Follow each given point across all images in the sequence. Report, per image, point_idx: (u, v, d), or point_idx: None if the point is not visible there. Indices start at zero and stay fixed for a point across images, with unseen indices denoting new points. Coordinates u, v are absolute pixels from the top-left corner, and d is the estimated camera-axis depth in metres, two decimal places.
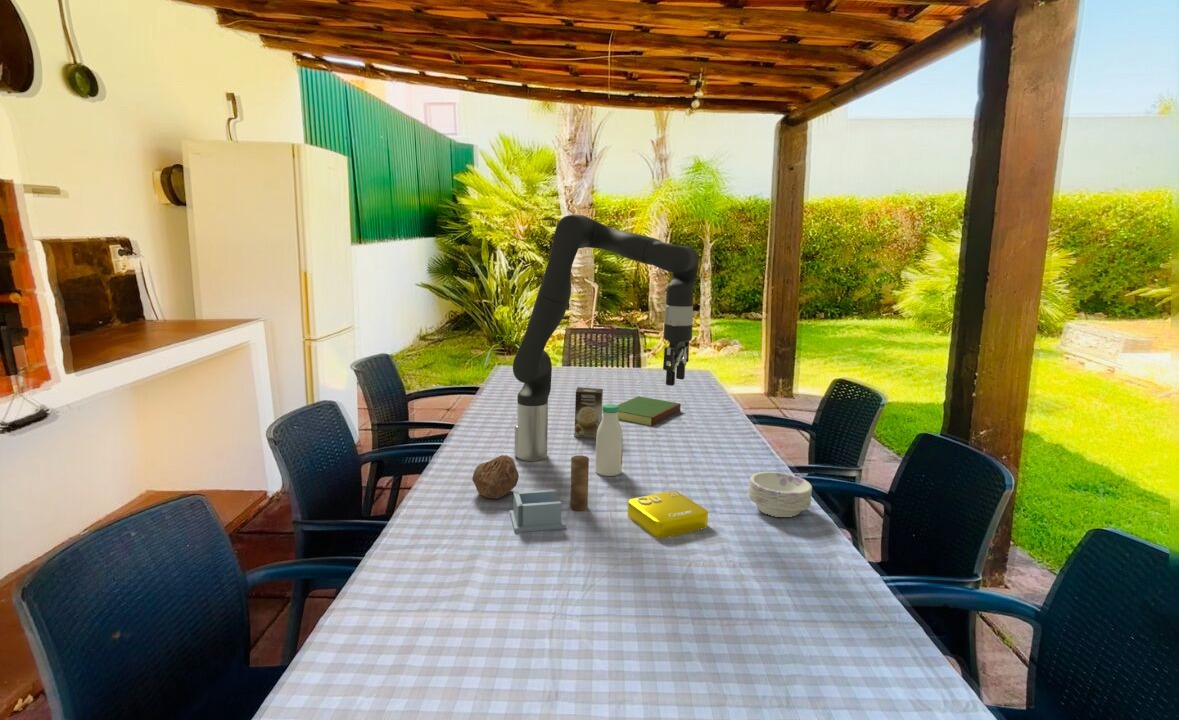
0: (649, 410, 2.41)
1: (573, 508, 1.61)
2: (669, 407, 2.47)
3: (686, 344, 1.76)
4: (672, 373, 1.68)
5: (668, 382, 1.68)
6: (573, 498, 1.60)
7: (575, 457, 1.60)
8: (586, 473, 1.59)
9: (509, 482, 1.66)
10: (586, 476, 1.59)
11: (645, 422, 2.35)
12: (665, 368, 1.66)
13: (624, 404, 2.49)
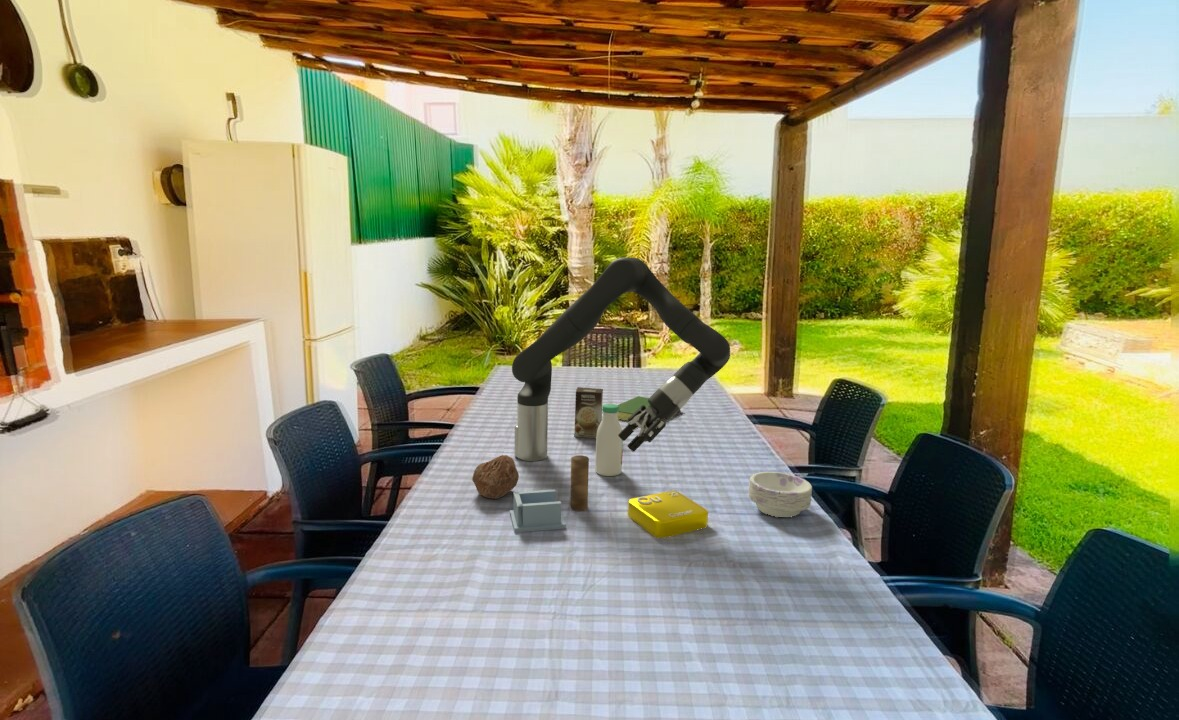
0: None
1: (573, 508, 1.61)
2: None
3: None
4: (642, 442, 1.57)
5: (633, 447, 1.57)
6: (573, 498, 1.60)
7: (575, 457, 1.60)
8: (586, 473, 1.59)
9: (509, 482, 1.66)
10: (586, 476, 1.59)
11: None
12: (646, 436, 1.55)
13: (624, 404, 2.49)
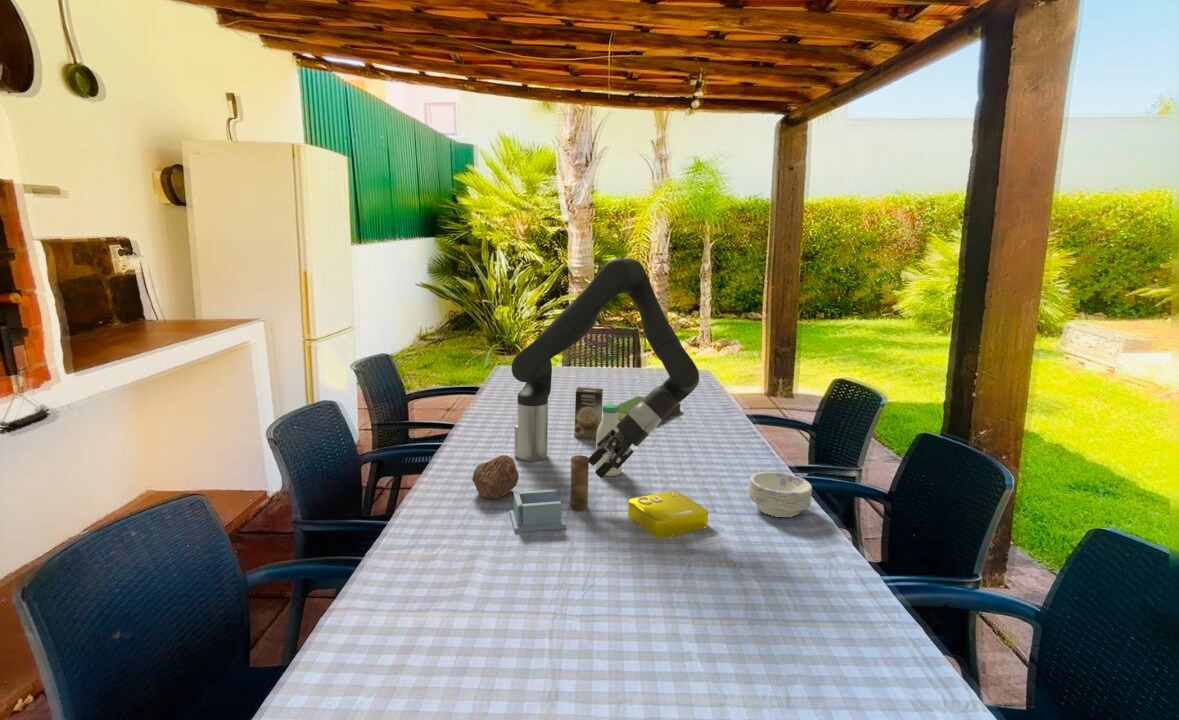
0: None
1: (573, 508, 1.61)
2: None
3: None
4: None
5: (600, 473, 1.56)
6: (573, 498, 1.60)
7: (575, 457, 1.60)
8: (586, 473, 1.59)
9: (509, 482, 1.66)
10: (586, 476, 1.59)
11: None
12: (613, 463, 1.55)
13: (624, 404, 2.49)
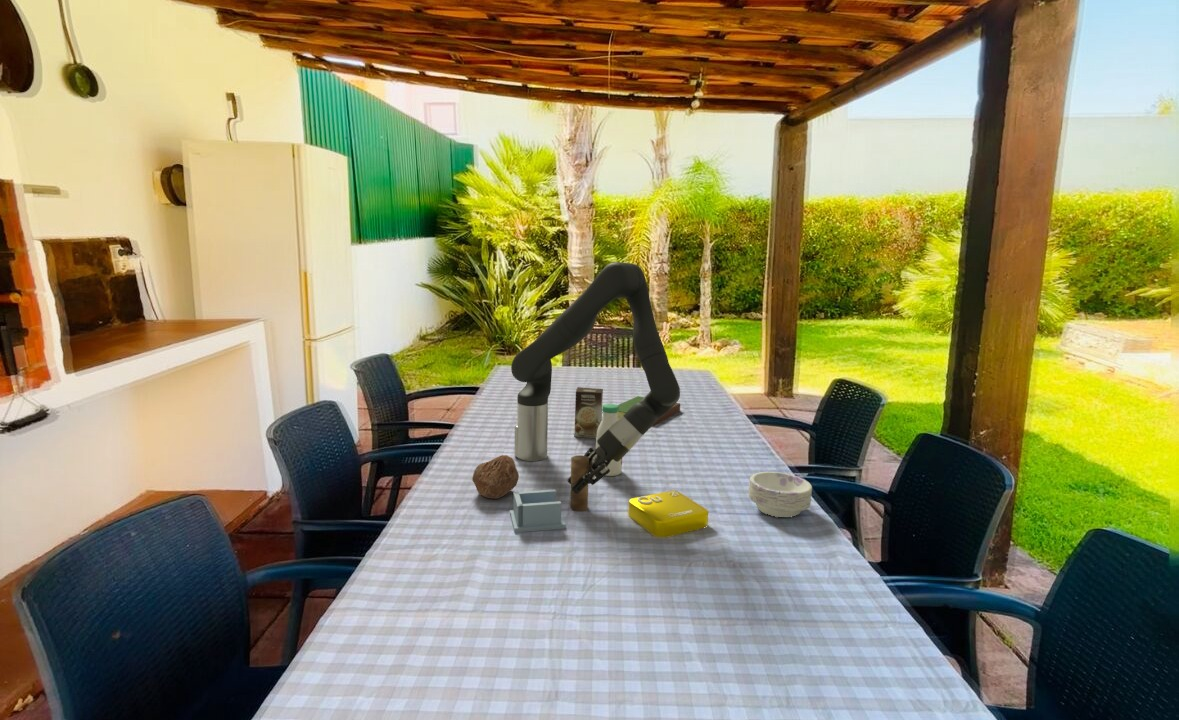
0: None
1: (573, 508, 1.61)
2: None
3: None
4: None
5: (576, 489, 1.58)
6: (573, 498, 1.60)
7: (575, 457, 1.60)
8: None
9: (509, 482, 1.66)
10: None
11: None
12: (588, 480, 1.56)
13: (624, 404, 2.49)
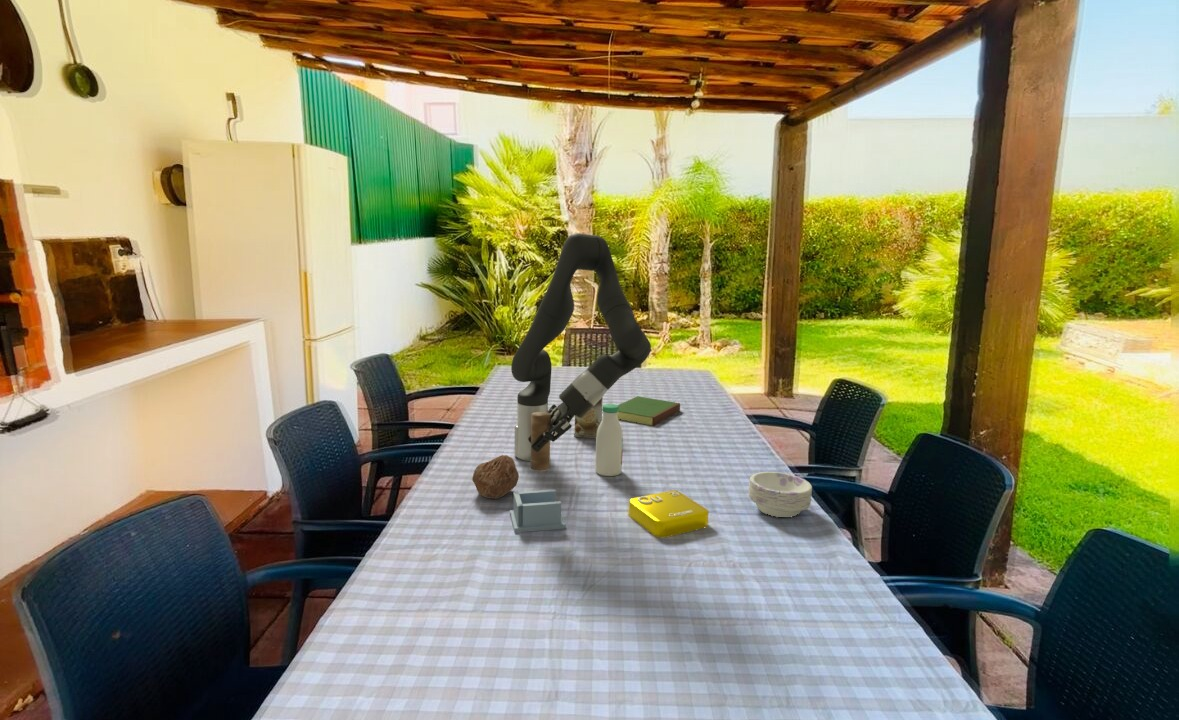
0: (650, 410, 2.41)
1: (534, 468, 1.50)
2: (669, 407, 2.47)
3: None
4: (546, 441, 1.47)
5: (536, 447, 1.47)
6: (533, 457, 1.49)
7: (536, 413, 1.50)
8: None
9: (509, 482, 1.66)
10: None
11: (646, 422, 2.35)
12: (548, 436, 1.45)
13: (624, 404, 2.49)
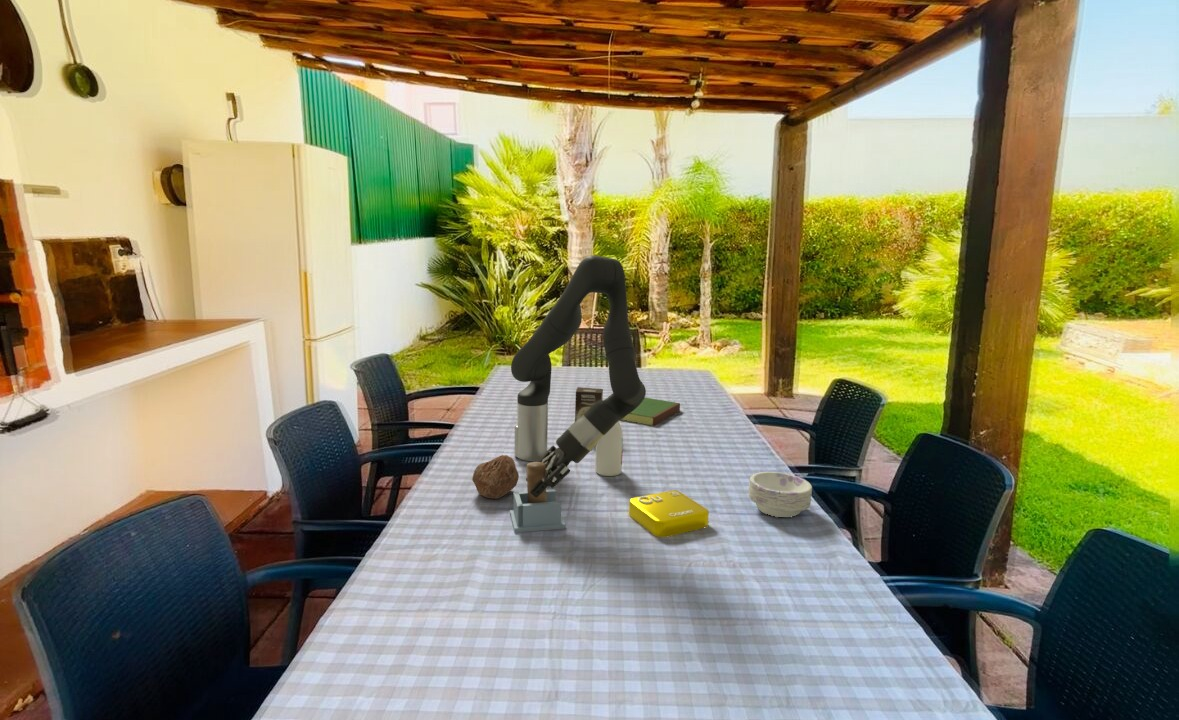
0: (650, 410, 2.41)
1: None
2: (669, 407, 2.47)
3: None
4: (545, 487, 1.48)
5: (535, 492, 1.48)
6: None
7: (531, 464, 1.52)
8: None
9: (509, 482, 1.66)
10: None
11: (647, 422, 2.35)
12: (548, 482, 1.46)
13: None
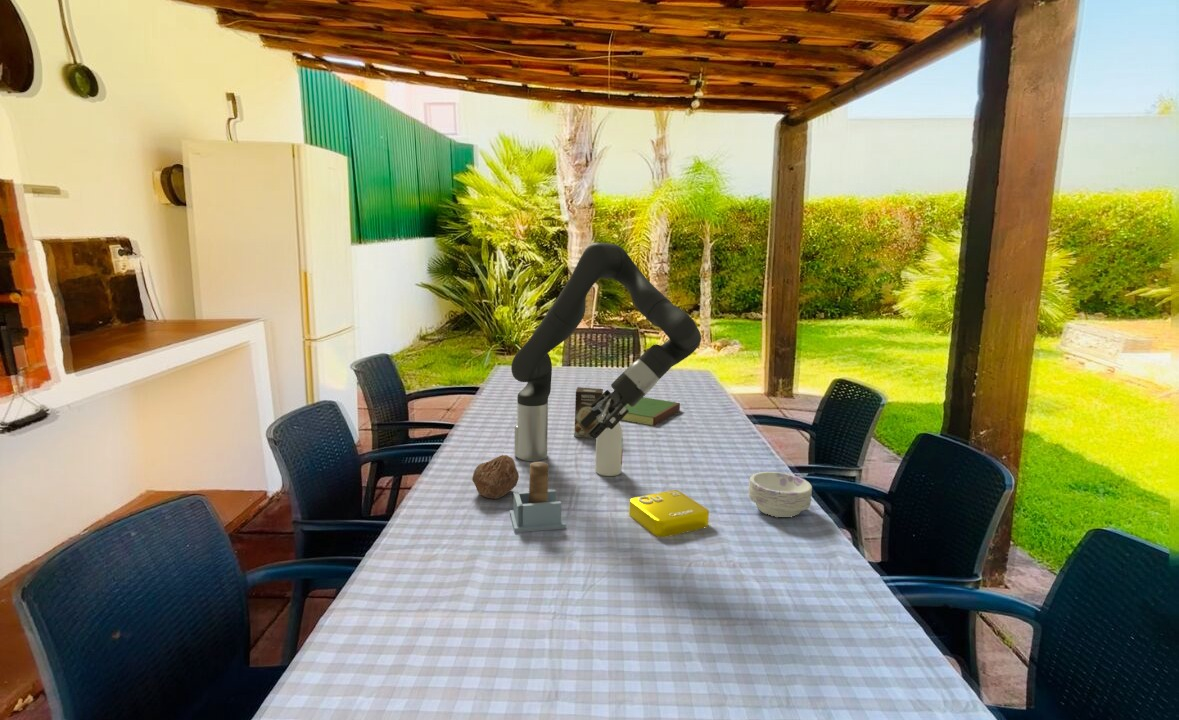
0: (650, 410, 2.41)
1: None
2: (669, 407, 2.47)
3: None
4: (604, 428, 1.48)
5: (594, 434, 1.48)
6: None
7: (534, 463, 1.52)
8: (545, 481, 1.51)
9: (509, 482, 1.66)
10: (545, 484, 1.51)
11: (647, 422, 2.35)
12: (607, 423, 1.46)
13: None
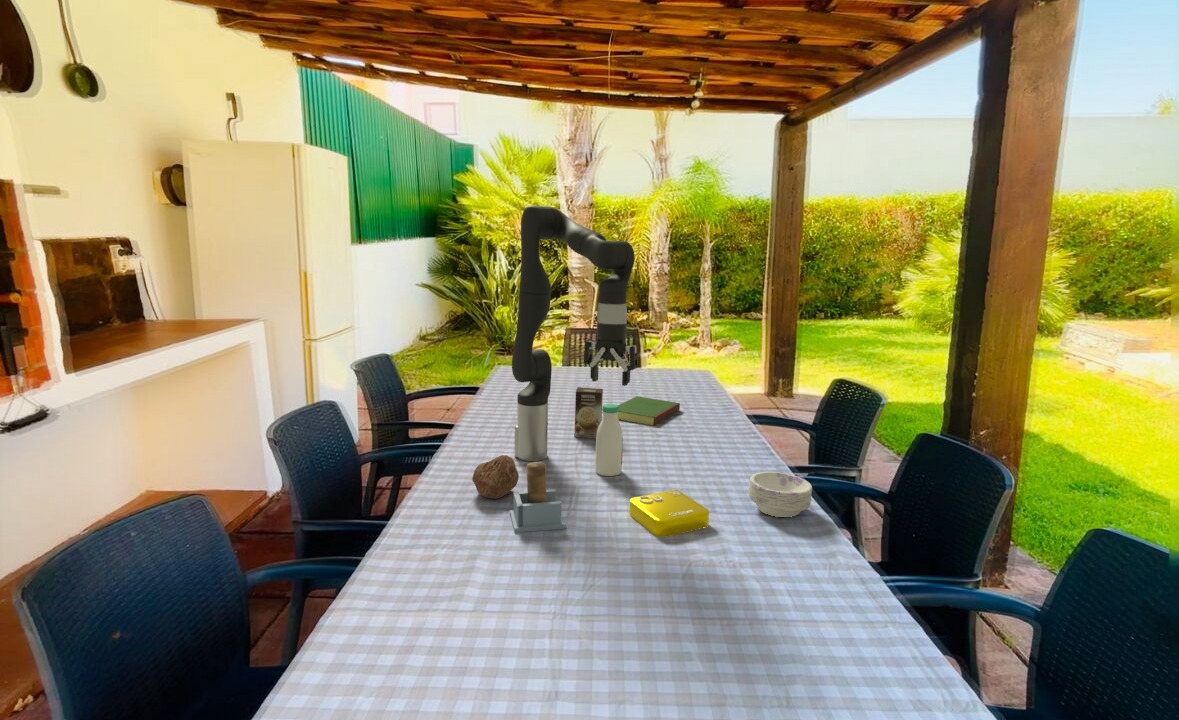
0: (650, 410, 2.41)
1: None
2: (669, 407, 2.47)
3: None
4: None
5: (628, 382, 1.64)
6: None
7: (531, 464, 1.52)
8: (542, 481, 1.51)
9: (509, 482, 1.66)
10: (543, 484, 1.51)
11: (647, 422, 2.35)
12: (634, 367, 1.62)
13: (624, 404, 2.49)
